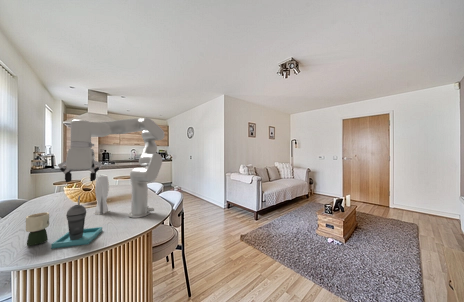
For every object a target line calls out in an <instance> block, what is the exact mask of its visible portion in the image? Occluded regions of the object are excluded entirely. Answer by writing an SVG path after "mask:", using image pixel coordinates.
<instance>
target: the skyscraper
mask: <svg viewBox="0 0 464 302" xmlns="http://www.w3.org/2000/svg"><path fill="white" fill-rule="evenodd" d="M109 185H110V184H109V178H108V174H106V175H105V174H104V173H103V174H99V172H96V179H95V187H94V189H95V191H94V193H95V199H96V207H95V212H94V213H93V214H95V216H97V215H98V216H104V215H105V213H106V214H108V213H109V212H111V210H109V206H108V203H107V199H108V195H109V190H110V186H109Z"/></svg>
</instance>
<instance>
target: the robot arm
mask: <svg viewBox="0 0 464 302" xmlns="http://www.w3.org/2000/svg"><path fill="white" fill-rule="evenodd" d="M135 132H141V138H142V141H143V143H144V147H143V149H142V151H141V154H140V156H139V159H138V164H139V166H141V167H134V168H133V169H131V171H130V173H129V174H130V175H129V179H130V184H131V201H130V202H131V208H130V210H131V211H130V212H129V214H128V217H129V218H132V219H136V218H144V217H146V216H148V215H150V214H151V212H155V207H149V205H148V195H149V194H148V193H149V191H148V189H149V187H148V183H153V182H155V181H156V180H157V178H158V175H159V173H160V170H161V167H162V165H163V157H162V155H161V154H159V153H157V151H158V146H157V143H156V141H162V140H164V138H165V131H164V130H163V129H162V128H161V126H159V124H157V123H156V122H155V121H154V120H152V119H151V118H149V117H138V118H128V119H127V118H126V119H115V120H108V121H89V120H84V119H73V120H71V121H70V148H68V151H67V154H66V160H65V161H63V162H61V163H58V164H57V166H58V168H59V170H60V171H61V172H62V173H63V174H64V180H65V183H69V182H72V180H73V179H72V178H73V177H72V171H73V170H74V171H75V170H76V171H77V170H88V171H90V172H91V173H89V175H90V176H89V178H90V180H89V181H90V182H96V179H97V173H98V172H99V171H100V170H101V168H102V166H103V163H101V162H100V161H97V160H96V156H95V151H94V148H92V147H95V143H92V138H103V137H107V136H109V135H126V134H130V133H135Z"/></svg>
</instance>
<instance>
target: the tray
mask: <svg viewBox="0 0 464 302" xmlns="http://www.w3.org/2000/svg"><path fill="white" fill-rule="evenodd" d="M101 233H103V226H100V227H99V226H97V227H89V228H88V227H87V228H84V231H83V237H82V238H80V239H77V240H70V236H69V231H67V232H66V233H65V234H63V235H62V236H60V237H59V238H58V239H56V240H55V241H54V242H52V243H50V245H51V246H50V248H51V249H60V248H69V247H75V246H76V247H77V246H86V245H90V244H91V243H92V242H93V241H94V240H95V239H96V238H97V237H98V236H99V235H100V234H101Z"/></svg>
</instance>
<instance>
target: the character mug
mask: <svg viewBox="0 0 464 302" xmlns="http://www.w3.org/2000/svg"><path fill="white" fill-rule="evenodd" d="M49 226H50V212H48V211H47V212H39V213H38V212H36V213H33V214H29V215H27V216H26V217H25V232H28V235H27V241H26V246H27V247H31V246H35V245H40V244H43V243H46V242H48V240H49V239H48V238H49V237H48V232H47V229H48V228H49Z"/></svg>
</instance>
